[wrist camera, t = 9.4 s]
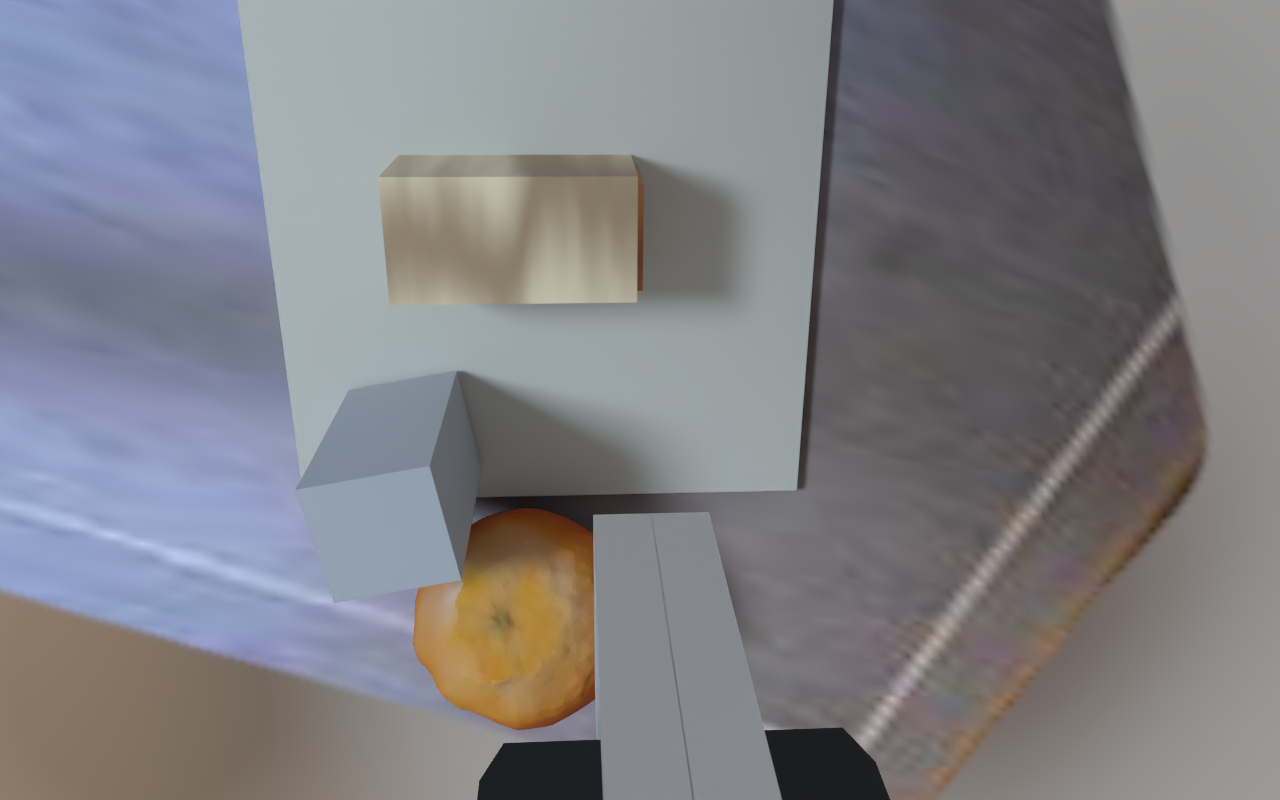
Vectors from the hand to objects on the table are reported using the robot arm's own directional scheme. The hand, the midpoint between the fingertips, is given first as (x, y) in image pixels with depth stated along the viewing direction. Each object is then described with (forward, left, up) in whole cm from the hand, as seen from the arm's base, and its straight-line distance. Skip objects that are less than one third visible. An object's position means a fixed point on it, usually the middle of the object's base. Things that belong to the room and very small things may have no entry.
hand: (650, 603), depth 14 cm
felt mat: (+2, -2, -24) cm, 24 cm away
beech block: (0, +1, -22) cm, 22 cm away
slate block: (+8, -7, -24) cm, 26 cm away
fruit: (+14, -3, -25) cm, 29 cm away
